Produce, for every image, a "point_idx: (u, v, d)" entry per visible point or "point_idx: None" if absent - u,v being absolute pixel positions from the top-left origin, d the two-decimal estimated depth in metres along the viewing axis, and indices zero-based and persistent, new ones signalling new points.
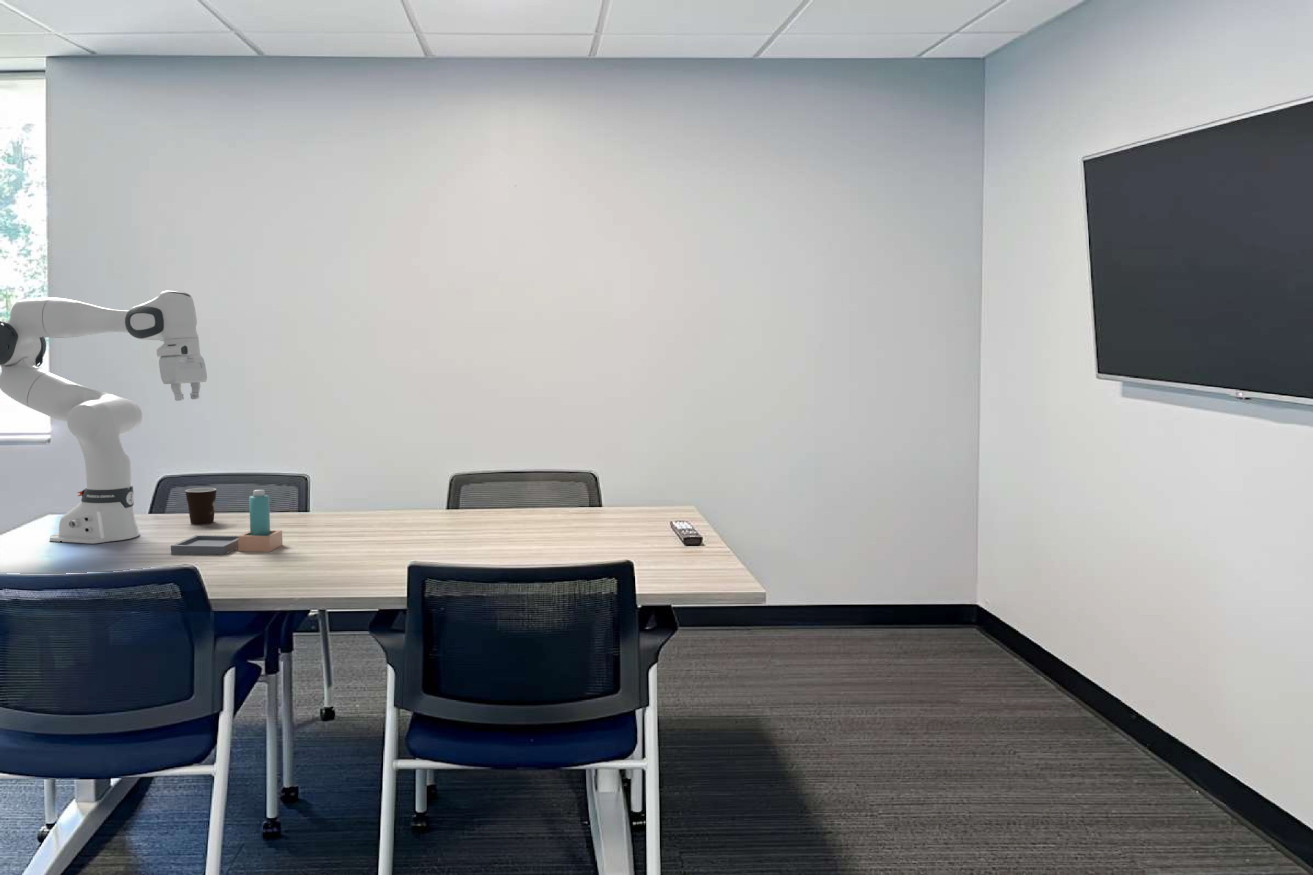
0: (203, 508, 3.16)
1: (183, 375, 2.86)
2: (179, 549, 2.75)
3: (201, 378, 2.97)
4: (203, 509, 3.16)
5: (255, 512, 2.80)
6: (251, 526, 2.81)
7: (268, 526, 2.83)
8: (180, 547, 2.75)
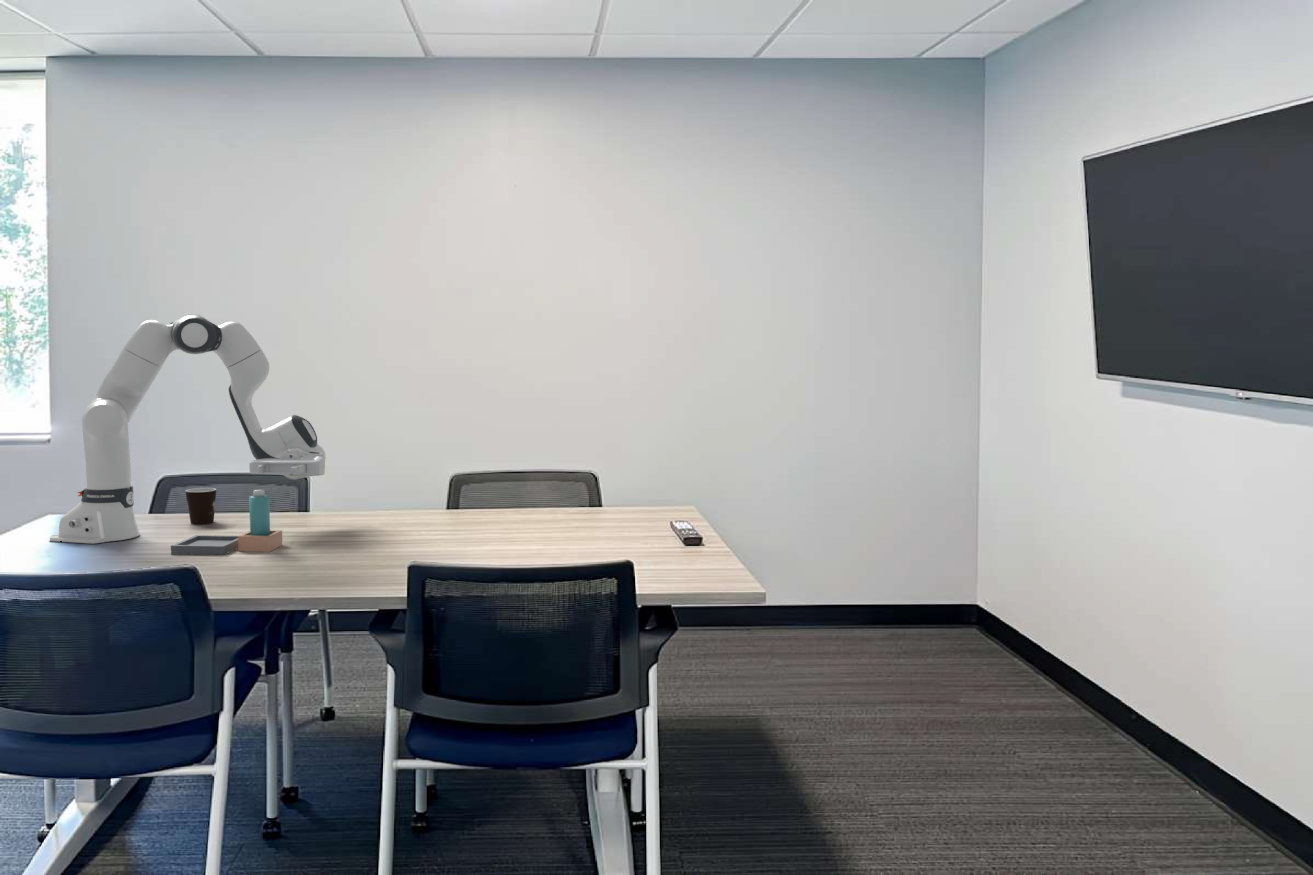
0: (203, 508, 3.16)
1: None
2: (179, 549, 2.75)
3: (264, 473, 3.00)
4: (203, 509, 3.16)
5: (255, 512, 2.80)
6: (251, 526, 2.81)
7: (268, 526, 2.83)
8: (180, 547, 2.75)
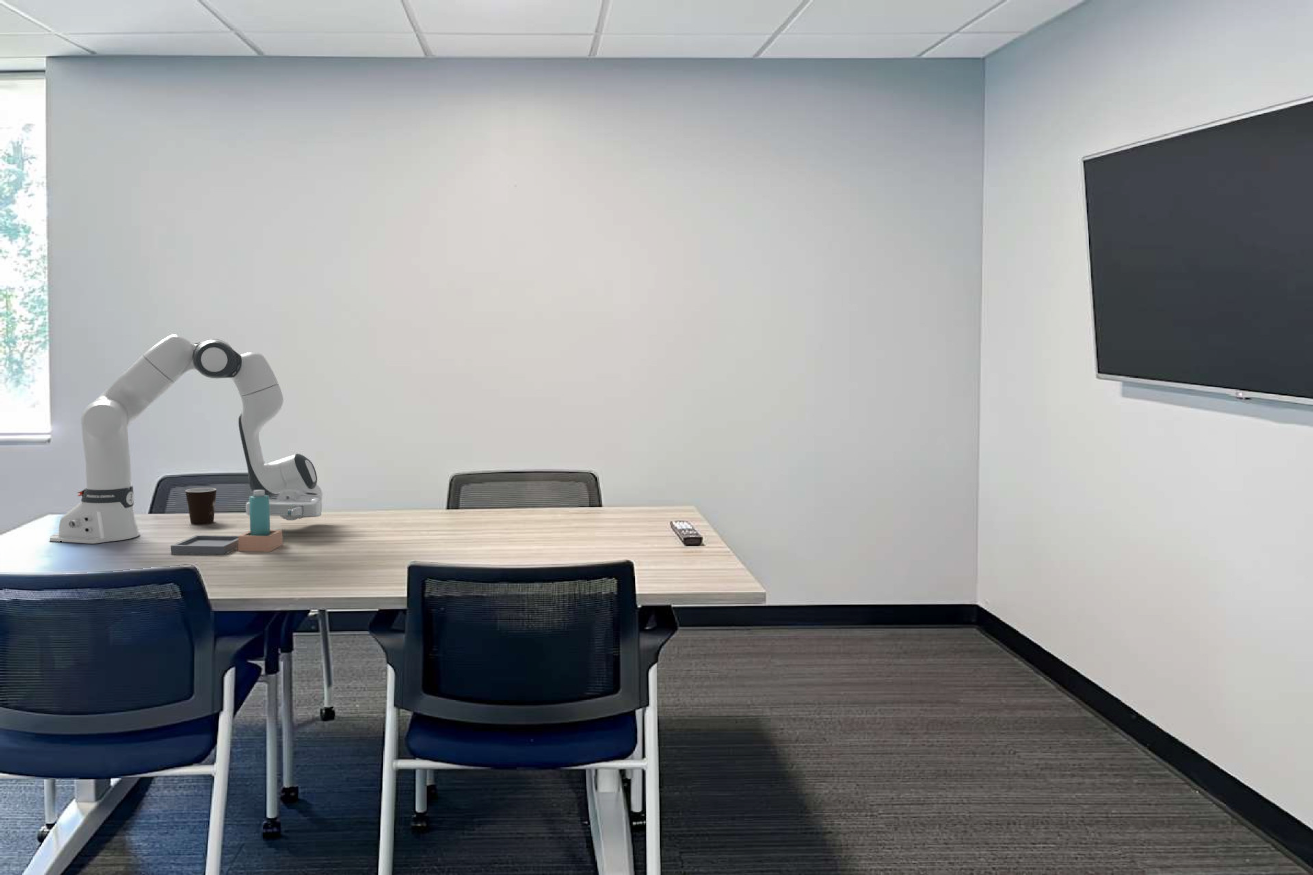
0: (203, 508, 3.16)
1: None
2: (179, 549, 2.75)
3: None
4: (203, 509, 3.16)
5: (255, 512, 2.80)
6: (251, 526, 2.81)
7: (268, 526, 2.83)
8: (180, 547, 2.75)
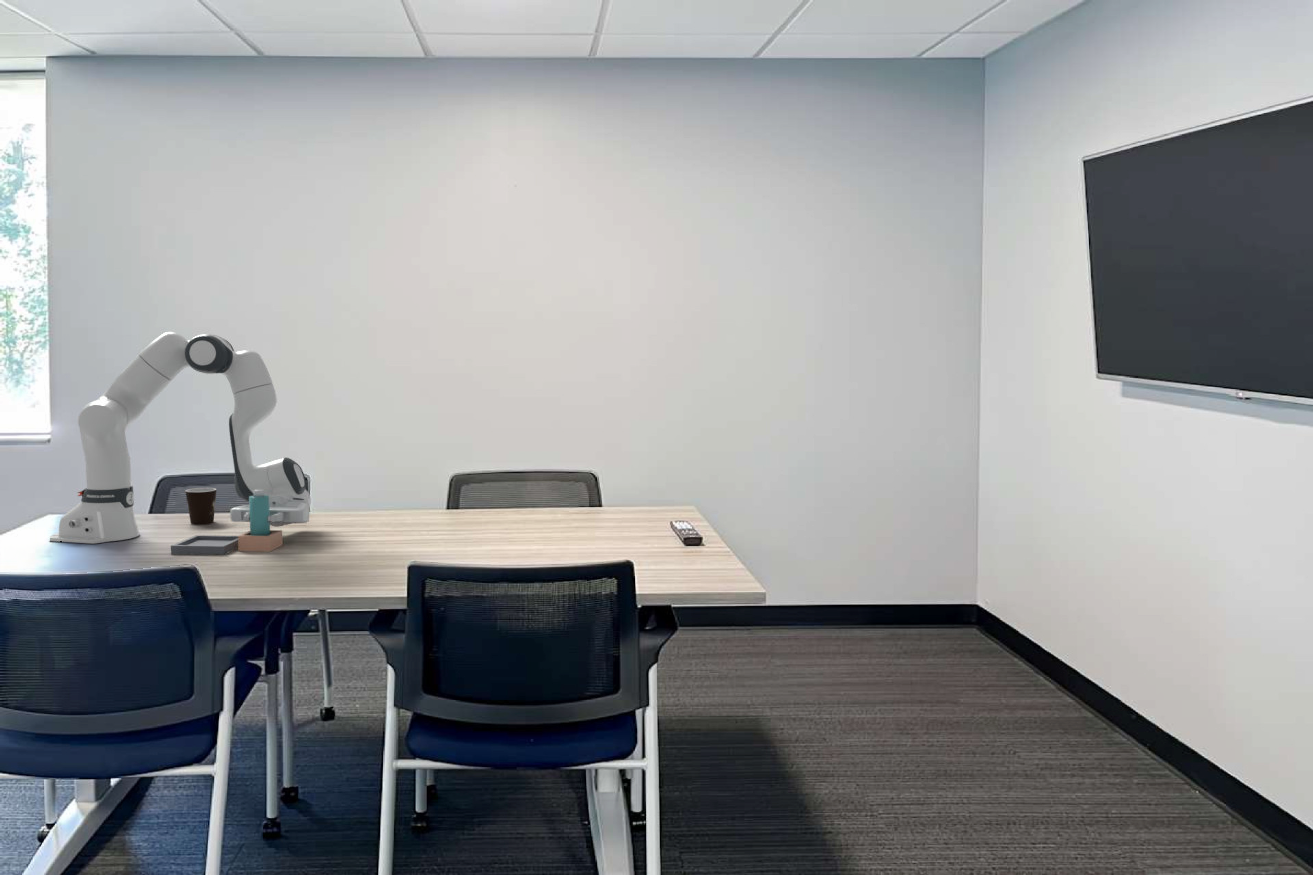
0: (203, 508, 3.16)
1: None
2: (179, 549, 2.75)
3: None
4: (203, 509, 3.16)
5: (255, 512, 2.80)
6: (251, 526, 2.81)
7: (268, 526, 2.83)
8: (180, 547, 2.75)
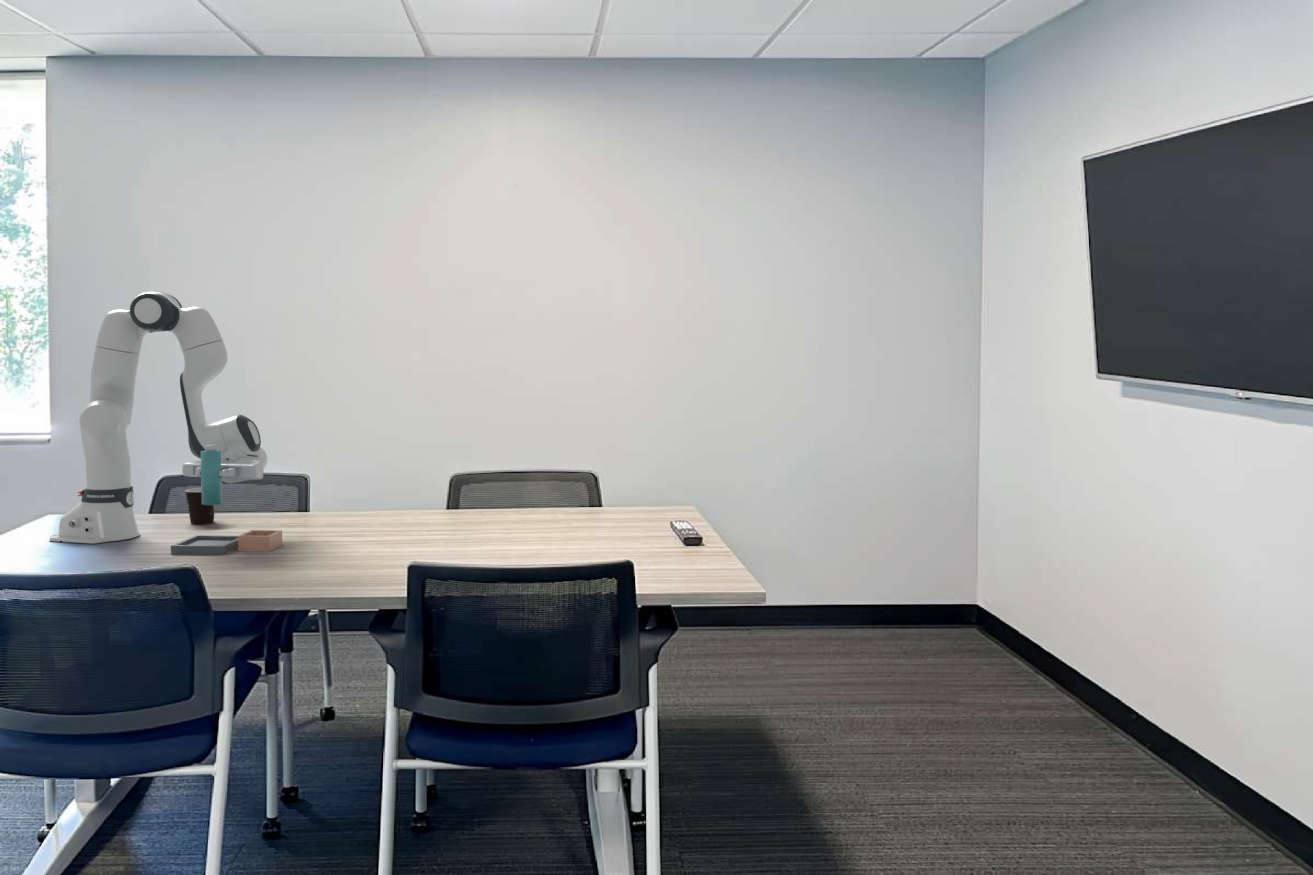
0: (203, 508, 3.16)
1: None
2: (179, 549, 2.75)
3: (197, 476, 2.85)
4: (203, 509, 3.16)
5: (206, 467, 2.78)
6: (202, 481, 2.79)
7: (220, 481, 2.80)
8: (180, 547, 2.75)
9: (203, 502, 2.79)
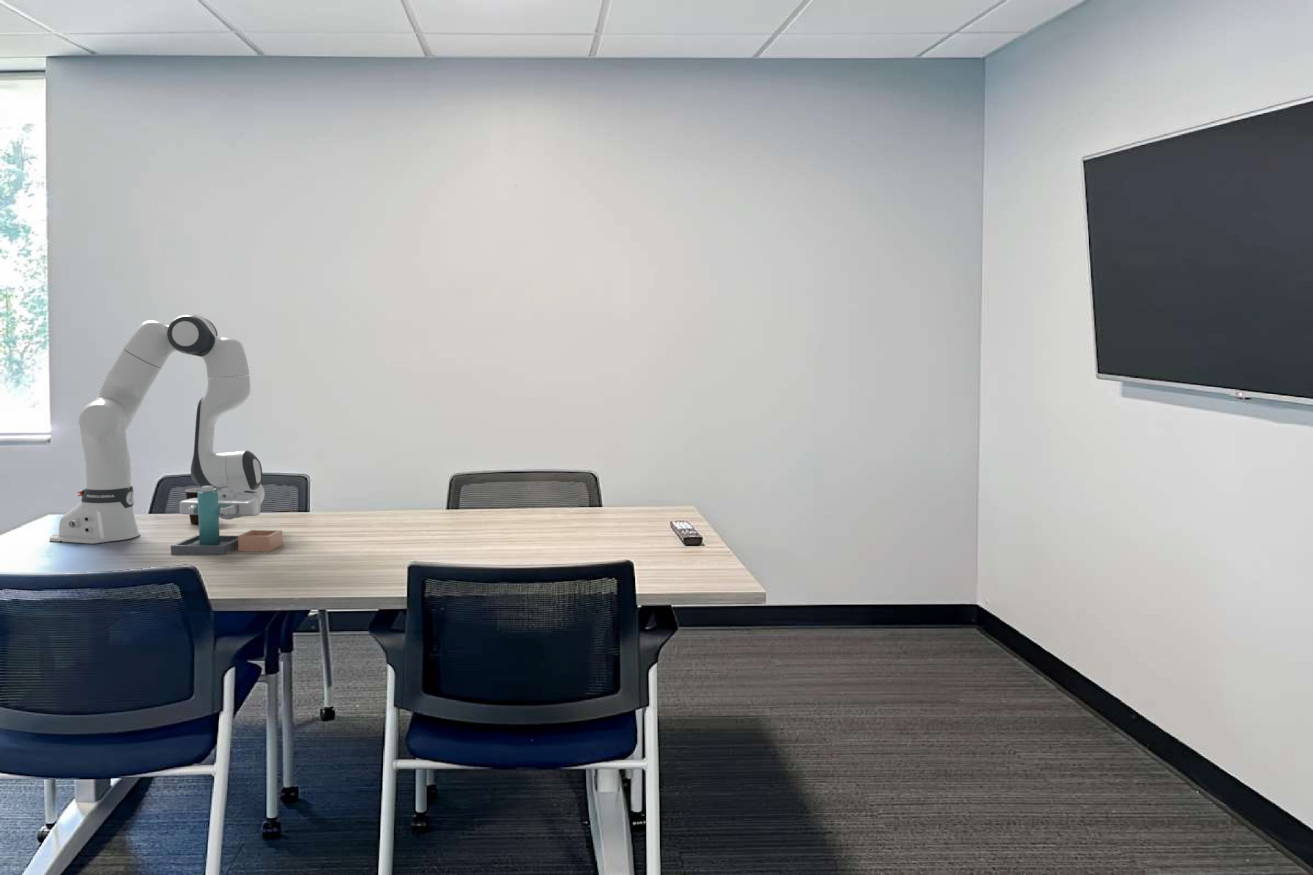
0: None
1: None
2: (179, 549, 2.75)
3: (194, 514, 2.86)
4: None
5: (203, 508, 2.79)
6: (199, 522, 2.80)
7: (217, 522, 2.81)
8: (180, 547, 2.75)
9: (201, 543, 2.80)
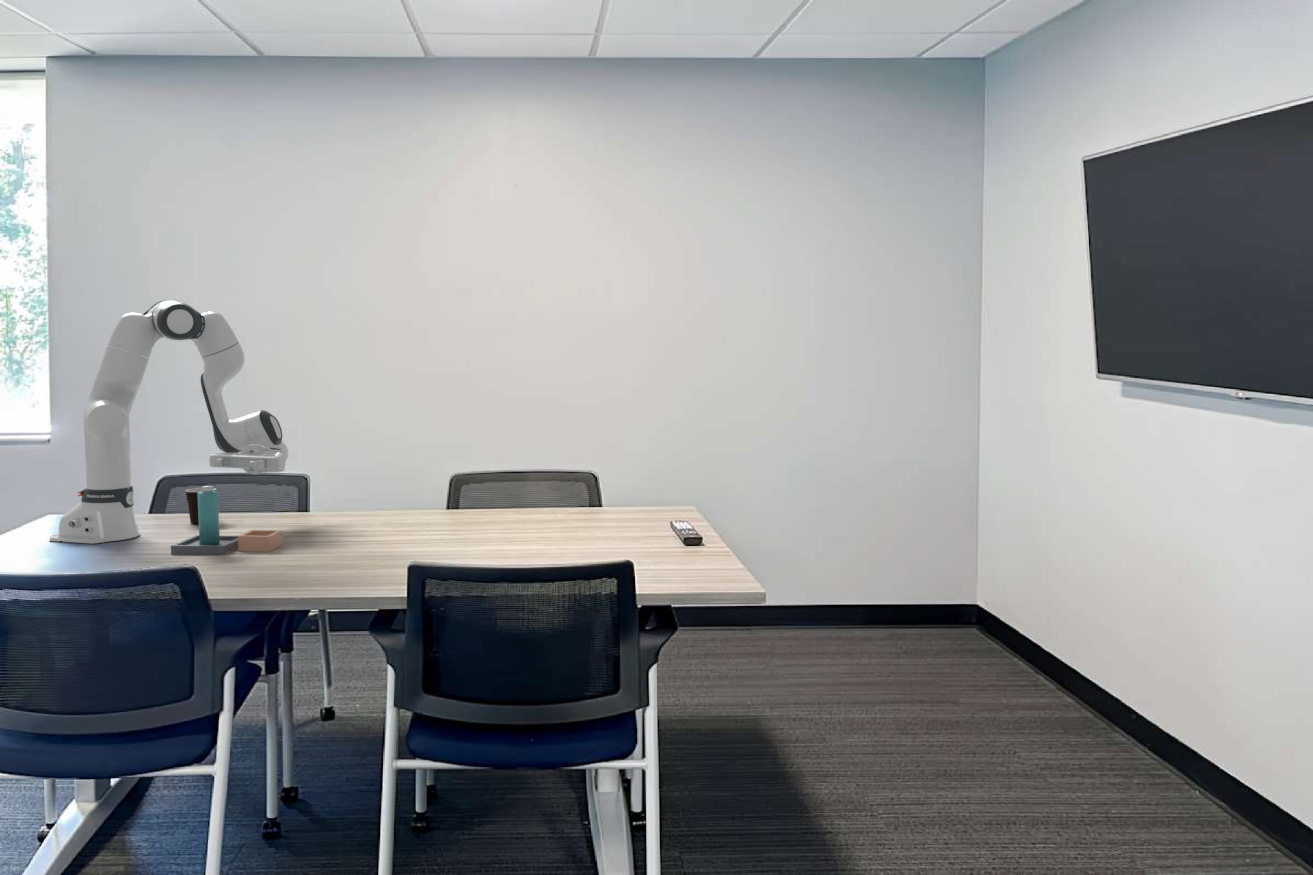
0: None
1: None
2: (179, 549, 2.75)
3: (223, 467, 3.02)
4: None
5: (203, 508, 2.79)
6: (199, 522, 2.80)
7: (217, 522, 2.81)
8: (180, 547, 2.75)
9: (201, 543, 2.80)
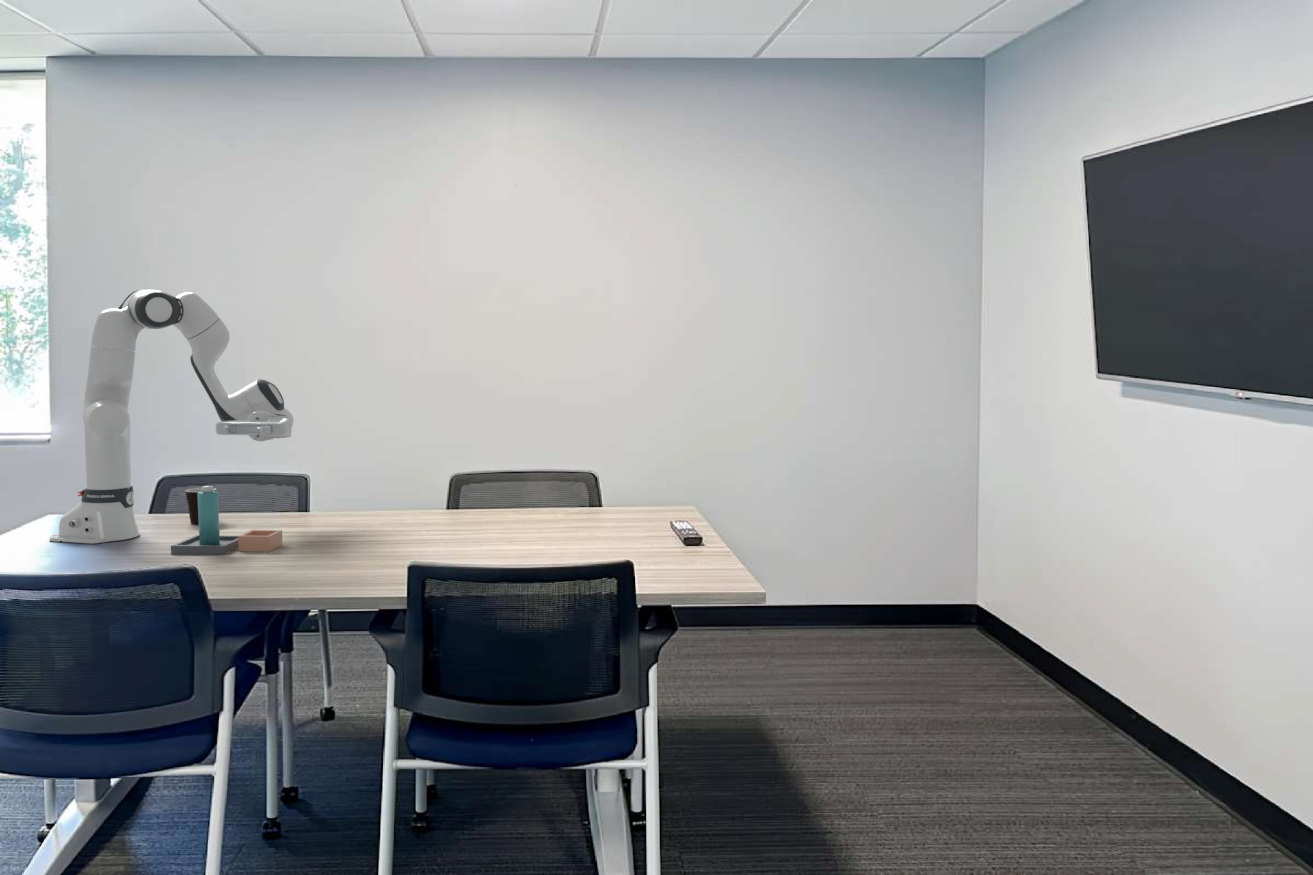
0: None
1: None
2: (179, 549, 2.75)
3: (230, 434, 3.03)
4: None
5: (203, 508, 2.79)
6: (199, 522, 2.80)
7: (217, 522, 2.81)
8: (180, 547, 2.75)
9: (201, 543, 2.80)
